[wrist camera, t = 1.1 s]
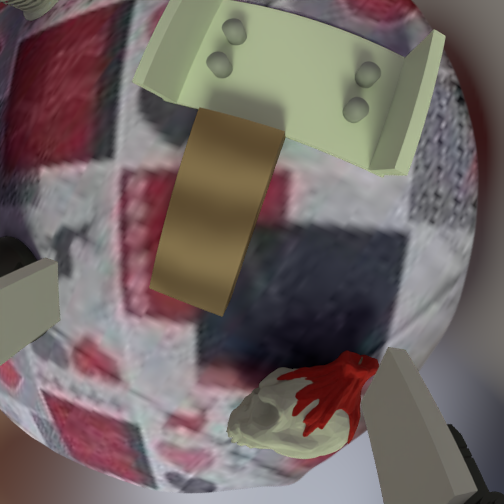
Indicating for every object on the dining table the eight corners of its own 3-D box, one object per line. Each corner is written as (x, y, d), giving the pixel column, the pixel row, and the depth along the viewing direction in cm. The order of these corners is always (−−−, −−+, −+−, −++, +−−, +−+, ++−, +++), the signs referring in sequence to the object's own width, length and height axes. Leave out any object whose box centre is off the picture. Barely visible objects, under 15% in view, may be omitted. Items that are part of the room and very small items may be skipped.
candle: (227, 401, 32) (312, 303, 30) (302, 442, 33) (387, 357, 31) (215, 453, 23) (328, 340, 21) (308, 494, 24) (419, 401, 22)
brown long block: (230, 298, 30) (222, 316, 26) (165, 274, 30) (149, 288, 26) (285, 137, 26) (284, 131, 22) (211, 115, 26) (199, 107, 22)
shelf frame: (165, 101, 26) (126, 81, 18) (211, -1, 22) (188, -41, 15) (381, 177, 25) (413, 178, 18) (416, 67, 22) (451, 39, 15)
